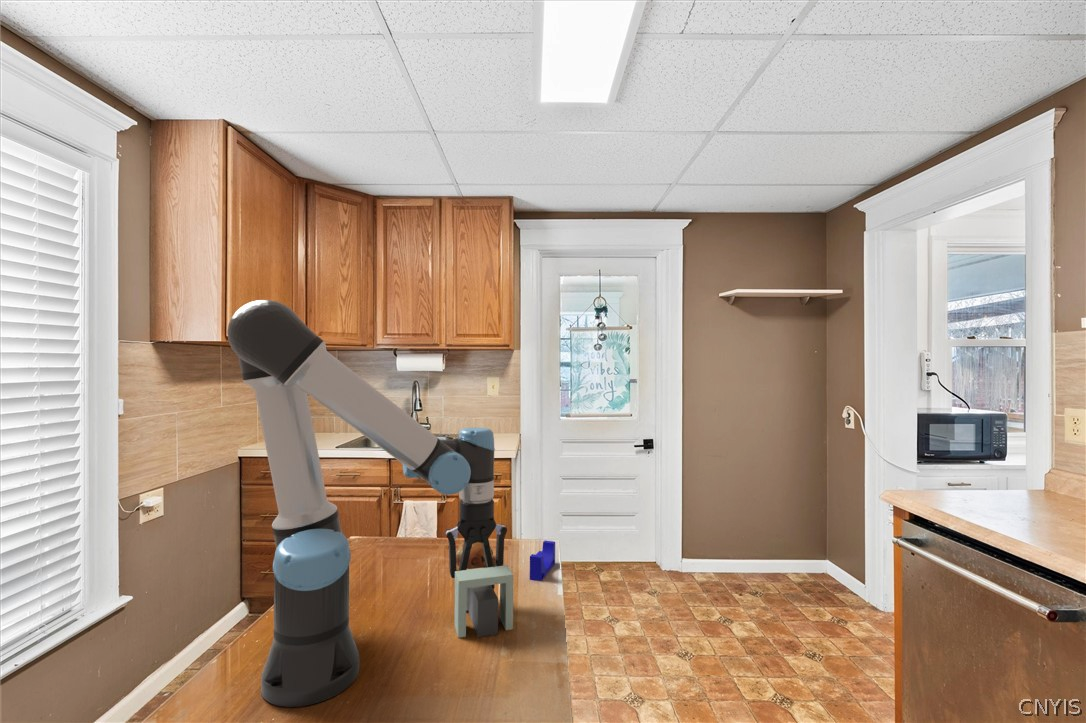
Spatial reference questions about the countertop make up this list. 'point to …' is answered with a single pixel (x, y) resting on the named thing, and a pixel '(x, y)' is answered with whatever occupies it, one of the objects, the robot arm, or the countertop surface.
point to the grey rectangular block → (483, 609)
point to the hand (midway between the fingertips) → (476, 606)
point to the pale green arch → (484, 578)
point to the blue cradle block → (542, 561)
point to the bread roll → (473, 556)
